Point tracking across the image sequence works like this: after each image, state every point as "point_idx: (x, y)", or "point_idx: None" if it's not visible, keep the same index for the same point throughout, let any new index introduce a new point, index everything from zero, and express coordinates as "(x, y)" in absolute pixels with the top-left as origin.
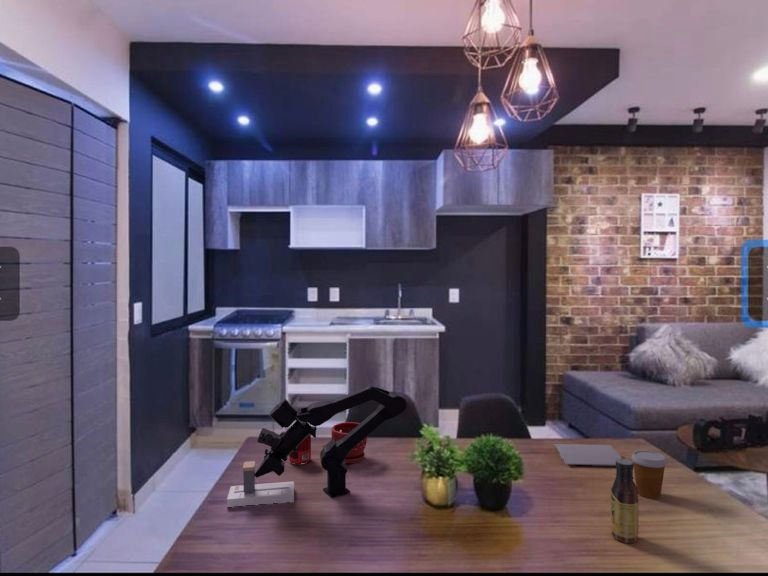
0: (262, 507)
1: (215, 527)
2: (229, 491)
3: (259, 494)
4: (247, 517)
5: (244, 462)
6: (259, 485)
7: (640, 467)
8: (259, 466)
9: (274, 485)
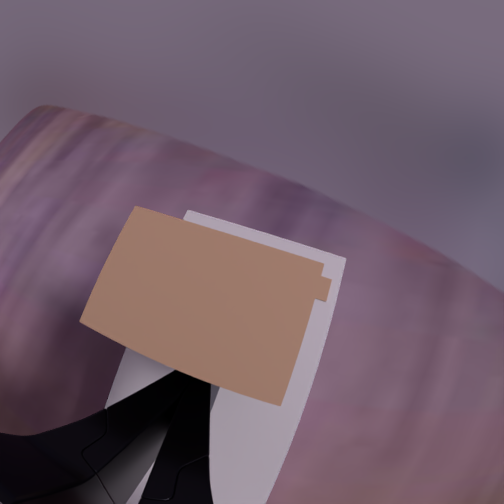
0: (110, 369)
1: (85, 178)
2: (279, 237)
3: (145, 375)
4: (70, 283)
5: (300, 257)
6: (276, 415)
7: None
8: (202, 429)
9: (227, 489)
